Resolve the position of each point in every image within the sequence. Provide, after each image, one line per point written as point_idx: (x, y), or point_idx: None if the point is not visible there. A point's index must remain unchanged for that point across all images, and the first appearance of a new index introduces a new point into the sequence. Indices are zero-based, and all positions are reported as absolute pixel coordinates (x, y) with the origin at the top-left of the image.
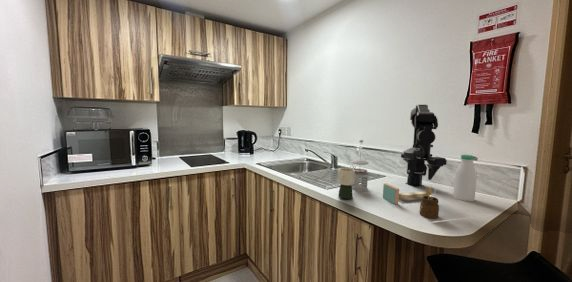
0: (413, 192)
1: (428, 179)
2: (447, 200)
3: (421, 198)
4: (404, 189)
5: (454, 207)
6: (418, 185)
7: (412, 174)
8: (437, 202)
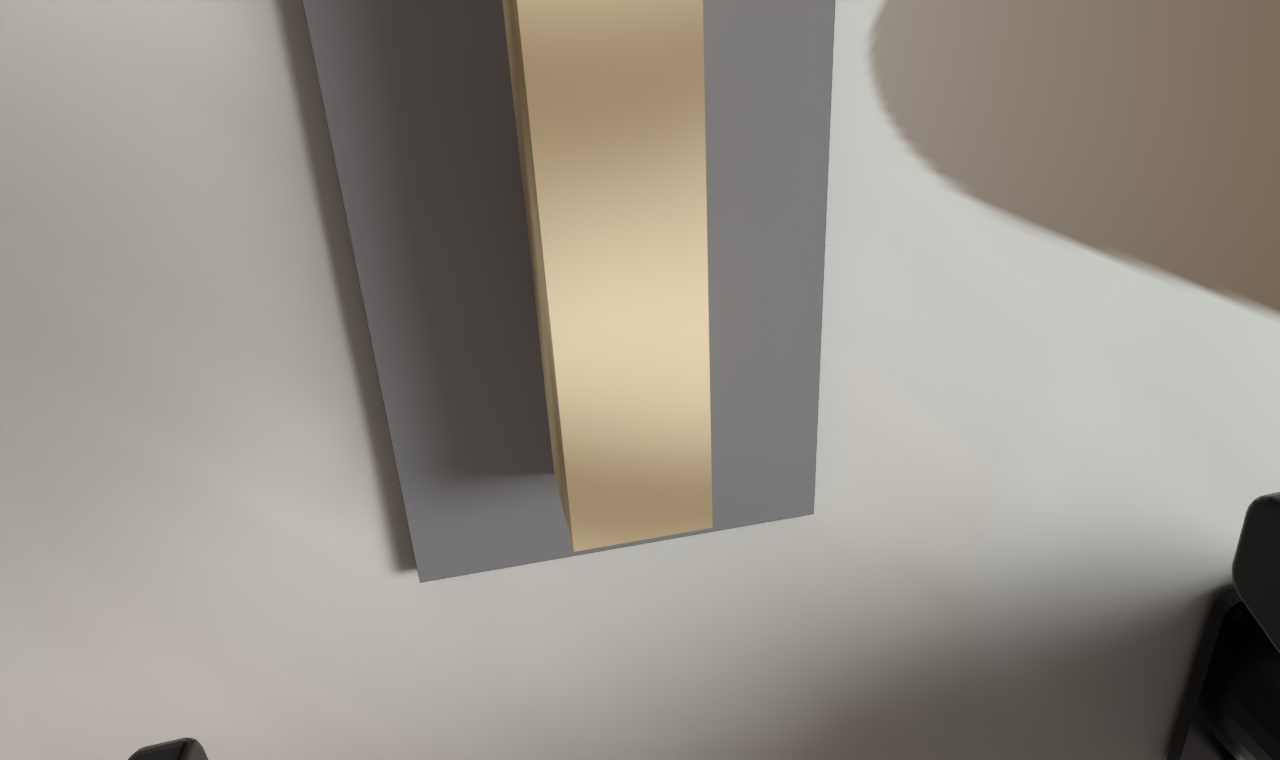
0: (702, 173)
1: (170, 748)
2: (459, 753)
3: (536, 285)
4: (1216, 334)
5: (54, 668)
6: (1219, 696)
7: (1248, 537)
8: None
